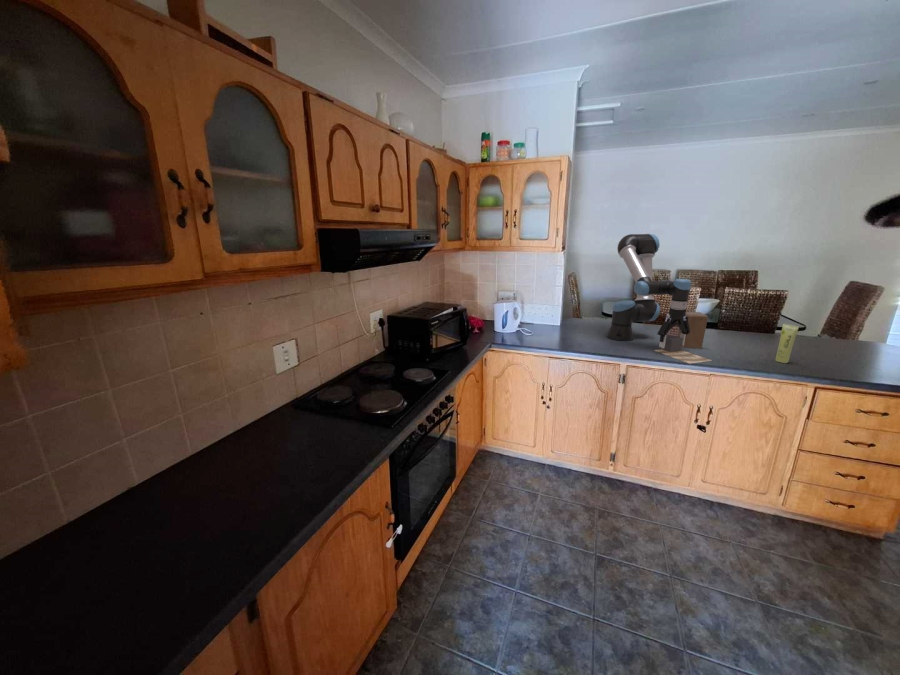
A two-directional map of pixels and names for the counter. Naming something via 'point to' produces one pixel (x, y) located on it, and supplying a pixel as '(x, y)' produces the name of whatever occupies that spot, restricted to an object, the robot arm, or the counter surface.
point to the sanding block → (672, 344)
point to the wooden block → (695, 330)
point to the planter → (673, 329)
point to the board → (685, 356)
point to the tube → (786, 342)
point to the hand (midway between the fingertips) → (671, 346)
